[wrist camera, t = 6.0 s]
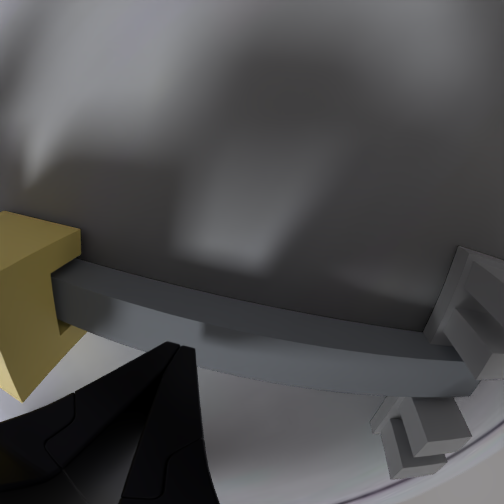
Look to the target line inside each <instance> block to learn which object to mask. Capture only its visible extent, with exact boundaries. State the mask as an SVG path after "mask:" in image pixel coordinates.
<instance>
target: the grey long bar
mask: <svg viewBox="0 0 504 504" xmlns="http://www.w3.org/2000/svg"><path fill="white" fill-rule="evenodd" d="M50 274H51V283H52V291H53V298H54V304H55V311H56V316H57V319H58V320H61V321H63V322H65V323H68V324H70V325H73V326H75V327H78V328H80V329H83V330H85V331H88V332H90V333H93V334H96V335H98V336H101V337H104V338H106V339H109V340H112V341H115V342H118V343H120V344H123V345H126V346H129V347H132V348H135V349H138V350H141V351H145V352H148V351H150V350H152V349H153V348H155V347H157V346H159V345H160V344H162V343H164V342H166V341H170V342H174V343H177V344H180V346H182V345H185V346H189V347H193V348H195V350H196V362H197V367H201V368H205V369H209V370H213V371H217V372H221V373H226V374H230V375H235V376H240V377H244V378H249V379H254V380H259V381H265V382H270V383H276V384H282V385H288V386H294V387H301V388H308V389H315V390H323V391H332V392H341V393H351V394H363V395H376V396H395V397H465V396H470V395H471V394H472V393H473V391H474V390H475V388H476V387H477V385H478V384H479V382H480V381H481V380H475V378H474V377H473V375H472V373H471V372H470V370H469V369H468V367H467V366H466V364H465V363H464V361H463V360H462V358H461V357H460V355H459V354H458V352H457V351H456V349H455V348H454V346H444V345H435V344H430V343H429V341H428V340H427V338H426V337H425V335H424V333H423V332H417V331H410V330H402V329H396V328H389V327H382V326H376V325H370V324H363V323H357V322H351V321H345V320H340V319H334V318H328V317H323V316H317V315H312V314H306V313H301V312H296V311H291V310H286V309H281V308H276V307H271V306H266V305H261V304H256V303H251V302H247V301H242V300H238V299H233V298H228V297H224V296H220V295H215V294H211V293H206V292H202V291H198V290H194V289H189V288H185V287H181V286H177V285H173V284H169V283H165V282H161V281H157V280H153V279H149V278H145V277H141V276H138V275H134V274H130V273H126V272H123V271H119V270H115V269H112V268H108V267H104V266H101V265H97V264H94V263H90V262H87V261H83V260H80V259H77V258H74V259H73V260H71V261H69V262H68V263H66V264H65V265H63V266H61V267H60V268H58V269H57V270H55V271H54V272H52V273H50Z"/></svg>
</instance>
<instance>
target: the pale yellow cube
mask: <svg viewBox="0 0 504 504" xmlns="http://www.w3.org/2000/svg"><path fill="white" fill-rule="evenodd" d="M79 255H81V229H78V228H74V227H70V226H66V225H61V224H57V223H53V222H49V221H45V220H41V219H36V218H32V217H28V216H24V215H20V214H16V213H12V212H8V211H2V212H0V388H1V389H3V390H4V391H5V392H7V393H8V394H10V395H11V396H13V397H14V398H15V399H17V400H18V401H20V402H21V403H23V402H24V401H25V400H26V399H27V398H28V396H29V395H30V394H31V393H32V392H33V391H34V389H35V388H36V387H37V386H38V385H39V384H40V383H41V381H42V380H43V379H44V378H45V377H46V376H47V375H48V373H49V372H50V371H51V370H52V369H53V368H54V367H55V366H56V365H57V364H58V362H59V361H60V360H61V359H62V358H63V357H64V356H65V355H66V354H67V353H68V352H69V350H70V349H71V348H72V347H73V346H74V345H75V344H76V343H77V342H78V341H79V340H80V339H81V338H82V337H83V336H84V335H85V334H86V332H87V331H85V330H83V329H80V328H78V327H75V326H73V325H70V324H68V323H65V322H63V321H61V320H58V319H57V316H56V311H55V304H54V298H53V291H52V283H51V274H50V273H52V272H54V271H55V270H57V269H58V268H60V267H61V266H63V265H65V264H66V263H68V262H69V261H71V260H73V259H74V258H76V257H78V256H79Z"/></svg>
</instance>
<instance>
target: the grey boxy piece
mask: <svg viewBox="0 0 504 504" xmlns="http://www.w3.org/2000/svg"><path fill="white" fill-rule="evenodd" d="M423 333H424V335H425V337H426V338H427V340H428V341H429V343H430V344H435V345H444V346H454V348H455V349H456V351H457V352H458V354H459V355H460V357H461V358H462V360H463V361H464V363H465V364H466V366H467V367H468V369H469V370H470V372H471V373H472V375H473V377H474V378H475V380H498V379H504V260H501V259H498V258H495V257H492V256H489V255H486V254H483V253H480V252H477V251H474V250H471V249H468V248H465V247H462V246H458V248H457V251H456V254H455V257H454V260H453V262H452V265H451V268H450V271H449V273H448V276H447V278H446V281H445V284H444V286H443V288H442V291H441V293H440V296H439V298H438V300H437V303H436V305H435V307H434V310H433V312H432V314H431V316H430V318H429V320H428V323H427V325H426V327H425V329H424V331H423ZM370 424H371V429H372V433H373V434H381V438H382V442H383V446H384V451H385V455H386V460H387V465H388V469H389V474H390V479H391V480H394V479H403V478H412V477H419V476H426V475H432V474H435V473H436V472H437V471H438V470H439V469H441V468H442V467H443V466H444V465H445V464H446V463H447V460H446V457H445V453H452V452H458V451H459V450H460V449H461V448H462V447H463V446H464V445H465V444H466V443H467V441H468V440H469V439H470V438H471V437H472V435H471V433H470V431H469V428H468V426H467V424H466V422H465V420H464V418H463V416H462V414H461V412H460V410H459V408H458V406H457V404H456V402H455V400H454V398H453V397H395V396H387V397H386V399H385V400H384V402H383V403H382V405H381V406H380V408H379V409H378V411H377V412H376V414H375V415H374V417H373V418H372V420H371V421H370Z"/></svg>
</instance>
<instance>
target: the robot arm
mask: <svg viewBox="0 0 504 504" xmlns="http://www.w3.org/2000/svg"><path fill="white" fill-rule="evenodd" d="M0 504H220V503H219V500H218V497H217V494H216V492H215V489H214V485H213V482H212V479H211V475H210V472H209V467H208V462H207V457H206V450H205V442H204V435H203V426H202V417H201V408H200V398H199V387H198V375H197V362H196V350H195V348H193V347H189V346H185V345H182V346H180V344H177V343H174V342H170V341H166V342H164V343H162V344H160V345H159V346H157V347H155V348H153V349H152V350H150V351H148V352H146V353H144V354H143V355H141V356H139V357H137V358H136V359H134V360H132V361H130V362H128V363H127V364H125V365H123V366H121V367H119V368H118V369H116V370H114V371H112V372H110V373H108V374H107V375H105V376H103V377H101V378H99V379H97V380H95V381H94V382H92V383H90V384H88V385H86V386H84V387H82V388H80V389H79V390H77V391H75V393H71V394H69V395H67V396H65V397H63V398H61V399H59V400H57V401H55V402H53V403H51V404H49V405H46V406H44V407H41V408H39V409H36V410H34V411H31V412H29V413H26V414H23V415H20V416H17V417H14V418H11V419H8V420H6V421H3V422H0Z"/></svg>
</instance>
